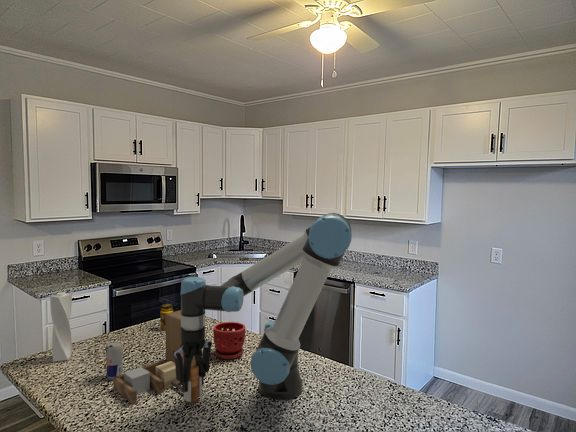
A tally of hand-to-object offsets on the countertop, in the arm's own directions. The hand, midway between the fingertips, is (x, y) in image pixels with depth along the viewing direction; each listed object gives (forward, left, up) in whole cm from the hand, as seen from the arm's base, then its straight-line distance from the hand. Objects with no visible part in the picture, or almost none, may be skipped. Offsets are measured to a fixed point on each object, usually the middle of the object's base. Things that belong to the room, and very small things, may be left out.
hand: (193, 397), depth 124 cm
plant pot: (+19, -30, -1) cm, 36 cm away
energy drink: (+33, +11, -1) cm, 35 cm away
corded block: (+9, 0, -1) cm, 9 cm away
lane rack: (+18, +5, -1) cm, 19 cm away
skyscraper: (+62, +19, -1) cm, 65 cm away
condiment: (+63, -27, -1) cm, 69 cm away
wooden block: (+25, -12, -1) cm, 28 cm away
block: (+19, +9, -1) cm, 21 cm away
